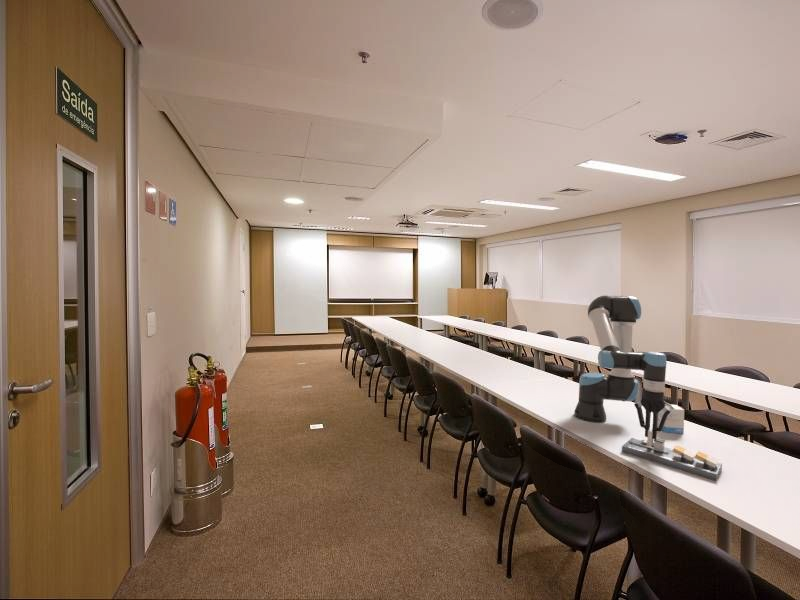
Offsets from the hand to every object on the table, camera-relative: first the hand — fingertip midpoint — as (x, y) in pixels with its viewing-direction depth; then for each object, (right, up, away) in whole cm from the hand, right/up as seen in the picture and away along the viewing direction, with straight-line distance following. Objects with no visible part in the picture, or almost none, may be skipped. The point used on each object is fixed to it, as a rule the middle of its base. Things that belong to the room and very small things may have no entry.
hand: (650, 445), depth 160 cm
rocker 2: (+13, 0, -14) cm, 19 cm away
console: (+5, -4, -5) cm, 8 cm away
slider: (+2, -1, -2) cm, 3 cm away
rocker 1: (+8, 0, -8) cm, 12 cm away
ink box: (+28, -3, +28) cm, 40 cm away
